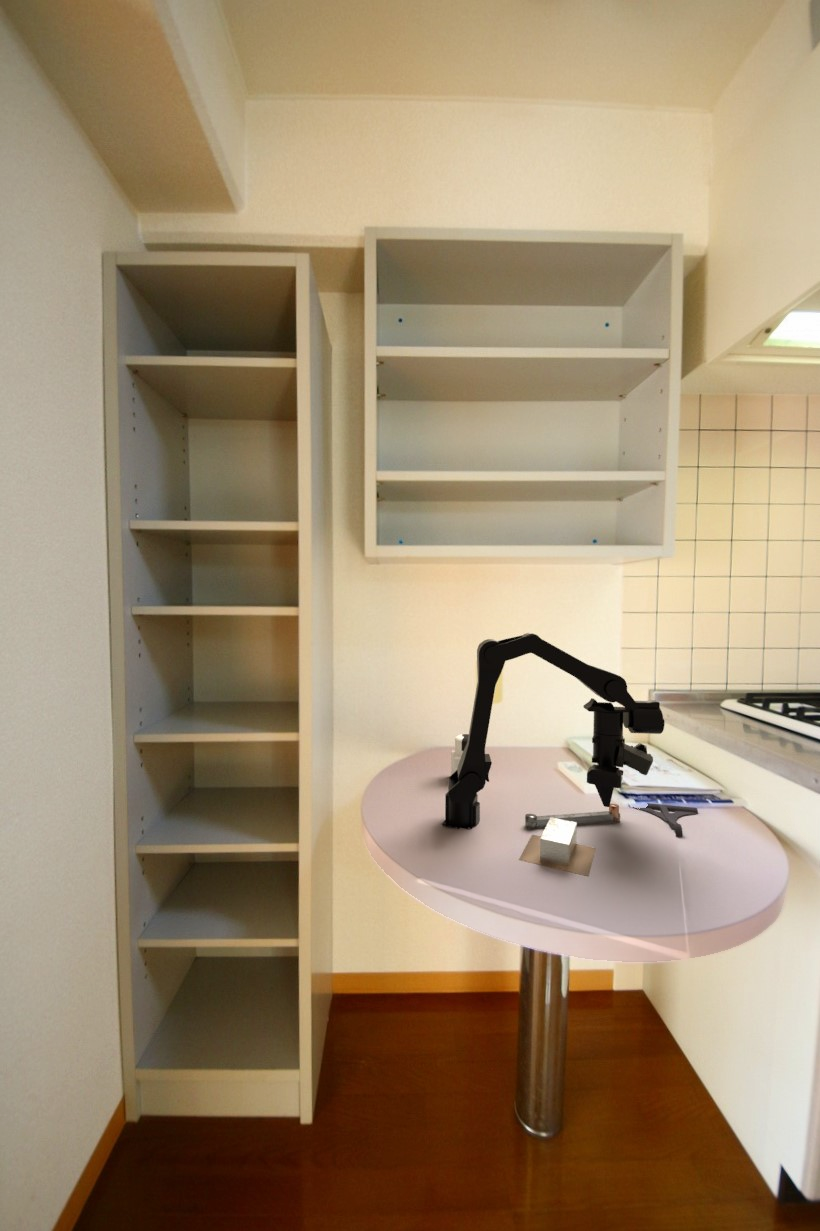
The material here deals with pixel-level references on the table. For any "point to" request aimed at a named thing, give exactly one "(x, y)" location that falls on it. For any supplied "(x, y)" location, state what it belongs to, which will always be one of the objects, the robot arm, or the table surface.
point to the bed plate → (577, 864)
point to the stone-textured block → (558, 841)
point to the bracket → (670, 814)
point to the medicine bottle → (458, 751)
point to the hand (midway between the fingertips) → (606, 806)
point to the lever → (575, 818)
